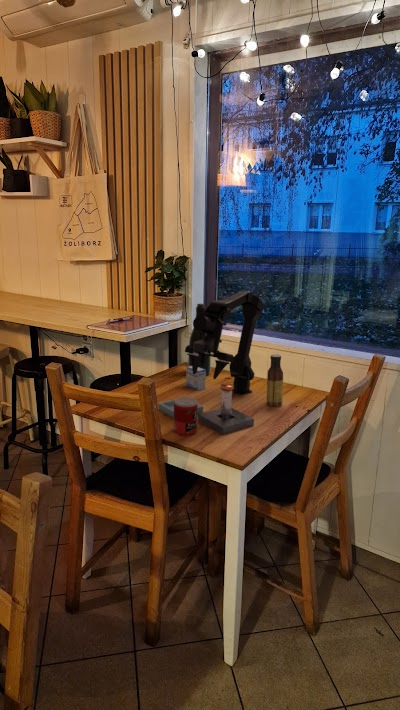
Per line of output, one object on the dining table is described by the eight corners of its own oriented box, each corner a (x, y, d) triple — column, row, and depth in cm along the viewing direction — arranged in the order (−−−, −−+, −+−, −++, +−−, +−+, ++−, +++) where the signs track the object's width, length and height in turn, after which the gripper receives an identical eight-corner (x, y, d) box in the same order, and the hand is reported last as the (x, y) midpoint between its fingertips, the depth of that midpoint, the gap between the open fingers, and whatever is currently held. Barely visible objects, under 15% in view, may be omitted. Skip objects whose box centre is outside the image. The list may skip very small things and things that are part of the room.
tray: (184, 403, 186) (184, 397, 185) (202, 412, 177) (203, 406, 176) (158, 409, 179) (158, 403, 178) (176, 419, 170) (176, 413, 169)
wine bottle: (186, 375, 220) (187, 305, 211) (190, 369, 230) (191, 301, 221) (208, 377, 218) (210, 306, 209) (211, 371, 228) (214, 302, 219)
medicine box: (185, 385, 206) (186, 366, 204) (193, 383, 209) (193, 365, 207) (197, 390, 200) (198, 371, 198) (205, 388, 203) (206, 369, 201)
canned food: (188, 438, 155) (189, 406, 152) (168, 432, 159) (169, 401, 156) (201, 430, 161) (202, 400, 159) (181, 425, 165) (182, 395, 163)
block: (228, 412, 178) (228, 406, 177) (253, 425, 167) (254, 418, 166) (197, 420, 169) (198, 414, 169) (222, 434, 159) (223, 427, 158)
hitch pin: (226, 419, 171) (228, 382, 168) (234, 423, 168) (236, 386, 164) (216, 422, 168) (217, 384, 165) (224, 426, 165) (226, 388, 161)
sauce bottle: (283, 402, 189) (287, 354, 184) (280, 407, 184) (284, 358, 178) (267, 400, 191) (270, 352, 186) (263, 405, 186) (267, 356, 180)
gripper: (180, 328, 175) (171, 369, 175) (222, 335, 164) (213, 380, 164) (197, 332, 184) (188, 372, 184) (238, 340, 173) (229, 382, 173)
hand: (204, 376), depth 176 cm, fingers open, 9 cm apart
